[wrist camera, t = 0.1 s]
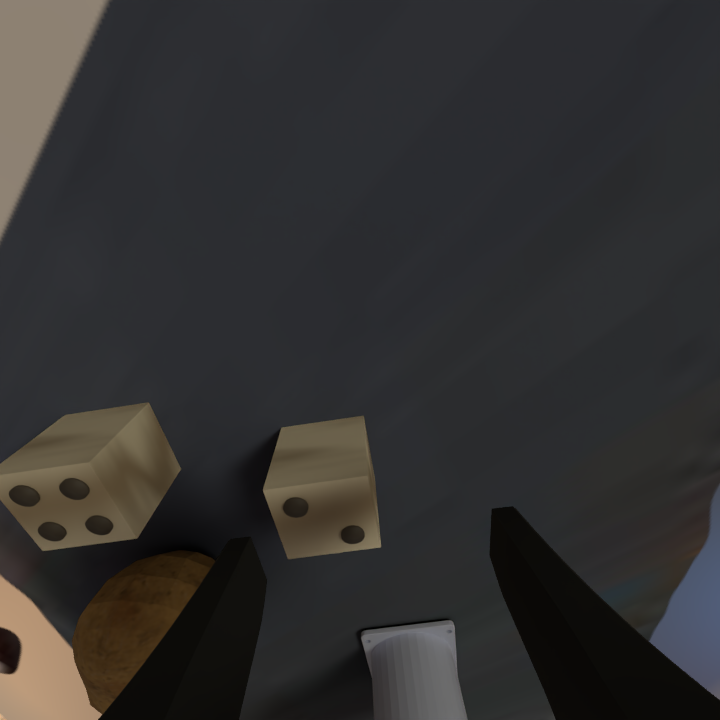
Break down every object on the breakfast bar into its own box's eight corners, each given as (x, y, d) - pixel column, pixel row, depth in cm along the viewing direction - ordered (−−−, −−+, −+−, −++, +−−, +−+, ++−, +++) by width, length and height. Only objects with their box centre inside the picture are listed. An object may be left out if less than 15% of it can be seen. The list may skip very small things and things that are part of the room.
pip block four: (181, 468, 22) (135, 541, 17) (106, 478, 22) (40, 553, 17) (149, 401, 20) (86, 464, 15) (66, 414, 20) (-21, 479, 15)
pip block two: (374, 477, 23) (381, 549, 18) (300, 487, 23) (287, 562, 18) (363, 414, 20) (367, 478, 16) (281, 426, 21) (261, 492, 16)
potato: (164, 634, 29) (103, 777, 22) (101, 517, 23) (-12, 660, 16) (278, 626, 29) (255, 767, 22) (245, 507, 23) (197, 646, 16)
